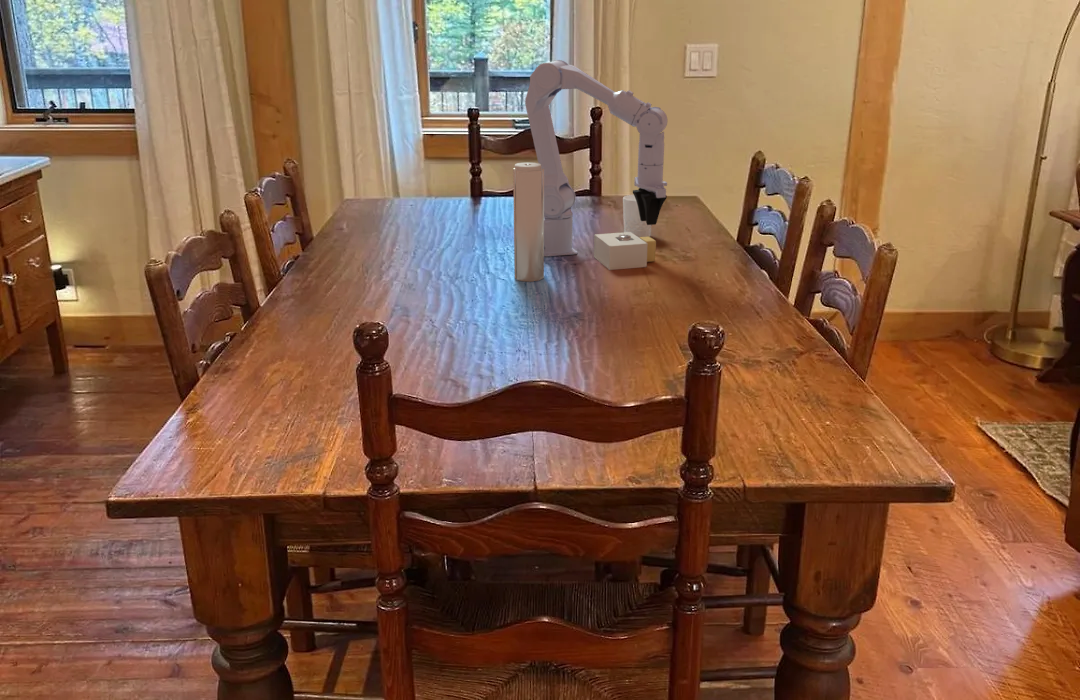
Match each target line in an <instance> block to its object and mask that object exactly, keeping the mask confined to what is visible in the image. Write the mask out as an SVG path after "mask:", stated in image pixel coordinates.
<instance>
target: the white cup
mask: <svg viewBox="0 0 1080 700" xmlns="http://www.w3.org/2000/svg"><path fill="white" fill-rule="evenodd" d="M622 209H623V210H622V212H623V213H622V215H623V216H622V217H623V219H622V220H623V232H631V233H633V234H634V235H636V236H637V237H648V236H649V237H651V235H652V226H653V225H647V223H646V221H641V220H640V215H639V209H638V205H637V201H636V199H635V196H634V194H628V195H624V196H623V197H622Z"/></svg>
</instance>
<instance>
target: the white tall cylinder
mask: <svg viewBox="0 0 1080 700" xmlns="http://www.w3.org/2000/svg"><path fill="white" fill-rule="evenodd" d="M512 173H513V174H512V176H513V177H512V179H513V181H512V182H513V183H512V184H513V185H512V186H513V187H512V188H513V190H512V191H513V246H514V247H513V251H514V252H513V256H514V257H513V258H514V259H513V260H514V262H513V263H514V279H515V280H516V281H519V282H525V283H531V282H534V281H535V282H540V281H541V280H543V279H544V278H545V257H544V169H542V170H541V164H539V163H538V162H527V161H526V162H517V163H515V164H514V168H513V169H512Z"/></svg>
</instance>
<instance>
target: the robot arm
mask: <svg viewBox="0 0 1080 700" xmlns="http://www.w3.org/2000/svg"><path fill="white" fill-rule="evenodd" d="M529 79H530V81H529V87H528V90H527V92H526V96H525V99H524V100H525V101H524V105H525V110H526V113H527V119H528V122H529V123H528V124H529V127H530V131H531V132H530V133H531V137H532V139H533V146H534V150H535V154H536V155H535V156H536V159H537V163H539V164H541V170H542V169H544V258H545V257H554V256H569V255H577V254H579V253H578V251H577V250H576V249H575V248H573V224H574V223H573V220H574V219H573V215H574V213H573V211H572V207H573V206H574V205H575V203H576V199H577V198H576V192H575V191H574V189H573V188H572V186H571V185H570V182H569V178H568V176H567V175H566V174H565V173H564V170H563V166H562V160H561V156H560V151H559V147H558V142H557V137H556V133H555V128H554V124H553V119H552V118H553V117H552V114H551V110H550V104H551V103H552V101H553V100H554V99H555V97H556V96H557V94H558V93H559V92H560V91H562V90H576V89H577V91H580V92H582V93H584V94H586V95H588V96H590V97H592V98H594V99H595V100H597V101H600V102H601V103H603V104H605V105H607V107H608V110H609V113H610V114H611V115H613V116H615V117H616V118H618V119H620V120H621V121H623V122H624V123H626V124H628V125H630V126H632V127H634V128H636V130H637V132H638V133H639V142H638V153H637V157H638V158H637V176H635V177H634V180H633V182H634V183H633V184H634V187H637V188H638V189H633V190H632V195H634V196H635V199H636V201H637V205H638V209H639V215H640V220H641V221H646V223H647V225H652V226H653V225H654V226H655V225H657V223H658V219H659V216H660V213H661V209H662V207H663V205H664V204H665V201H666V200H667V197H668V196H667V189H666V188H665V187H667V186H668V182H667V181H664V180H663V179H664V160H665V131H664V130H665V129H666V127H667V126H668V117H667V114H666V113H665V111H664V110H662V109H661V107H658V106H652V103H651V102H649V101H648V102H645V101H643V100H641V99H639V98H638V97H636V96H634V92H633V91H631V90H630V89H629V90H626V91H625V89H622V90H619V91H614V90H613V89H611V88H610V87H608V86H606V85H605V84H603V83H602V82H601V81H599V80H597V79H596V78H594V77H592V76H591V75H589V74H587V73H586V72H584V71H583V70H581V69H580V68H578V67H577V66H576V65H573V64H569V63H567V62H566V61H565V60H561V59H556V60H555V59H554V60H552V61H550V62H542V63H540V64H539V65H537V67H536V68H535V69H534V70H533V72H532V73H531V74H530V76H529Z"/></svg>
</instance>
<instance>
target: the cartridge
mask: <svg viewBox="0 0 1080 700" xmlns="http://www.w3.org/2000/svg"><path fill="white" fill-rule="evenodd" d="M639 238H640V239H642V240H643V241H645V242H646V243H648V244H647V263H648V262H650V263H651V262H655V261H656V253H657V251H656V249H657V240H655V239H654V238H652V237H651V236H650V237H649V236H648V237H639Z"/></svg>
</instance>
